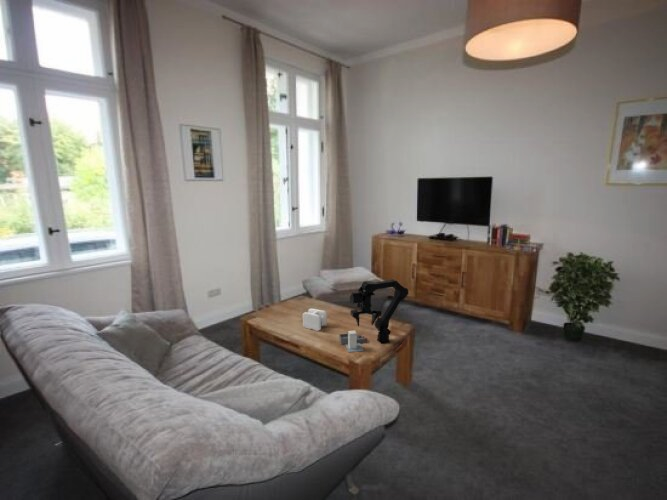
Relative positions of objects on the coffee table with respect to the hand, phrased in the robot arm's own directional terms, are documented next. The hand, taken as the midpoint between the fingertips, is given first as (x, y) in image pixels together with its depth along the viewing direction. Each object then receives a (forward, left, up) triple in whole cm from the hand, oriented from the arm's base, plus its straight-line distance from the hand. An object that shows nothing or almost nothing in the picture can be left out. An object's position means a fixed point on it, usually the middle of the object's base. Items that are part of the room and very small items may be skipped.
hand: (365, 325), depth 220 cm
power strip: (+6, -7, -13) cm, 16 cm away
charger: (+9, 0, -13) cm, 16 cm away
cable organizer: (+21, -37, -13) cm, 45 cm away
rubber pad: (+8, +1, -13) cm, 15 cm away
